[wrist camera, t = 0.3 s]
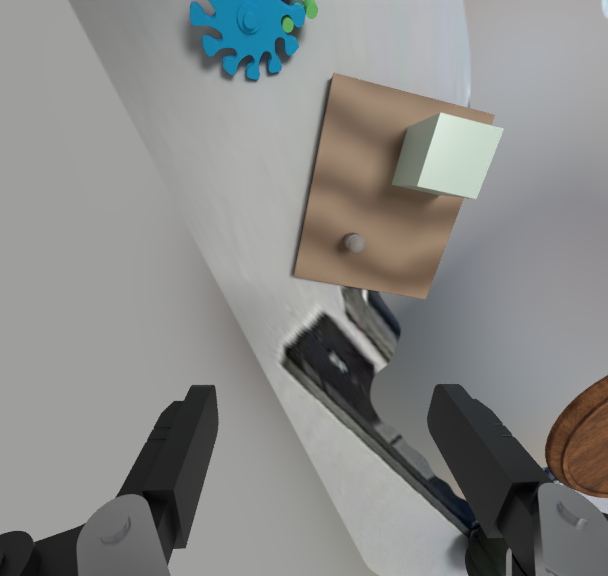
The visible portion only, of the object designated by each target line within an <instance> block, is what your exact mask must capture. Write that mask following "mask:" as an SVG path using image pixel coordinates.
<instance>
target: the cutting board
mask: <svg viewBox="0 0 608 576" xmlns="http://www.w3.org/2000/svg"><path fill="white" fill-rule="evenodd" d="M545 458H546V463H547V466H549V468H550V470H551V472H552V474H553V475H554V476H555V477H556V478H557V479H558V480H559V481H560V482H561V483H563V484H564V485H566V486H567V487H569V488H572V489H574V490H577V491H579V492H581V493H584V494H586V495H589V496H594V497H600V498H608V375H607V376H605V377H604V378H602V379H601V380H599V381H597V382H595V383H594V384H593V385H591V386H590V387H588V388H587V389H586V390H584V391H583V392H582V393H580V394H579V395H578V396H577V397H576V398H575V399H574V400H573V401H572V402H571V403H570V404H569V405H568V406H567V407H566V408H565V409H564V410H563V412H562V413H561V414H560V415H559V417H558V418H557V420H556V421H555V423H554V424H553V426H552V428H551V430H550V433H549V435H548V437H547V441H546V445H545Z"/></svg>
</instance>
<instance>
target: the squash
mask: <svg viewBox="0 0 608 576" xmlns="http://www.w3.org/2000/svg"><path fill="white" fill-rule="evenodd" d="M508 548H509V546H508V544H507V543H506V541H505V539H504V538H487V536H486V535H485V533H484V531H483V529H482V527H481V528H479V530H478V537H472V538H471V539H470V540H469V547H468V549H467V551H466V554H465V564H466V569H467V573H468V575H469V576H506V554H507V550H508Z"/></svg>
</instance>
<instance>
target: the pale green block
mask: <svg viewBox="0 0 608 576" xmlns="http://www.w3.org/2000/svg"><path fill="white" fill-rule="evenodd" d="M503 130H504V129H503V128H499V127H495V126H491V125H487V124H483V123H480V122H476V121H472V120H468V119H464V118H460V117H456V116H452V115H448V114H444V113H438V114H436V115H434V116H432V117H429V118H427V119H425V120H422V121H420V122H418V123H416V124H413V125H411V126H409V127H408V129H407V132H406V136H405V139H404V143H403V146H402V150H401V153H400V157H399V160H398V164H397V167H396V171H395V174H394V178H393V181H392V185H395V186H399V187H404V188H408V189H413V190H418V191H422V192H427V193H431V194H436V195H441V196H451V197H460V198H470V199H477V196H478V194H479V191H480V189H481V186H482V183H483V181H484V178H485V176H486V173H487V171H488V168H489V166H490V163H491V161H492V158H493V155H494V153H495V150H496V148H497V145H498V142H499V140H500V138H501V135H502V132H503Z"/></svg>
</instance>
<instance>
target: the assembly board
mask: <svg viewBox="0 0 608 576" xmlns="http://www.w3.org/2000/svg"><path fill="white" fill-rule="evenodd" d="M438 113H444V114H448V115H452V116H456V117H460V118H464V119H468V120H472V121H476V122H480V123H483V124H487V125H491V124H492V122H493V119H494V116H495V115H493V114H489V113H486V112H482V111H478V110H474V109H470V108H466V107H462V106H459V105H455V104H451V103H447V102H443V101H439V100H436V99H432V98H428V97H424V96H420V95H416V94H413V93H409V92H405V91H401V90H397V89H393V88H390V87H386V86H382V85H378V84H374V83H370V82H367V81H363V80H359V79H355V78H351V77H347V76H343V75H340V74H336V73H334V74H333V76H332V79H331V84H330V90H329V95H328V100H327V105H326V110H325V115H324V120H323V126H322V131H321V136H320V141H319V146H318V151H317V157H316V162H315V167H314V172H313V177H312V182H311V187H310V193H309V198H308V203H307V208H306V213H305V218H304V224H303V229H302V234H301V239H300V244H299V249H298V254H297V260H296V265H295V270H294V277H298V278H304V279H309V280H315V281H321V282H327V283H333V284H339V285H345V286H350V287H356V288H362V289H368V290H374V291H380V292H386V293H391V294H397V295H403V296H409V297H415V298H421V299H426V297H427V294H428V291H429V289H430V286H431V283H432V280H433V278H434V275H435V273H436V270H437V268H438V265H439V262H440V260H441V257H442V254H443V252H444V249H445V246H446V244H447V241H448V238H449V236H450V233H451V230H452V228H453V225H454V222H455V220H456V217H457V215H458V212H459V209H460V207H461V204H462V201H463V199H464V198H460V197H451V196H441V195H436V194H431V193H427V192H422V191H418V190H413V189H408V188H404V187H399V186H395V185H392V181H393V178H394V174H395V171H396V167H397V164H398V160H399V157H400V153H401V150H402V146H403V143H404V139H405V136H406V132H407V129H408V127H409V126H411V125H413V124H416V123H418V122H420V121H422V120H425V119H427V118H429V117H432V116H434V115H436V114H438Z"/></svg>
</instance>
